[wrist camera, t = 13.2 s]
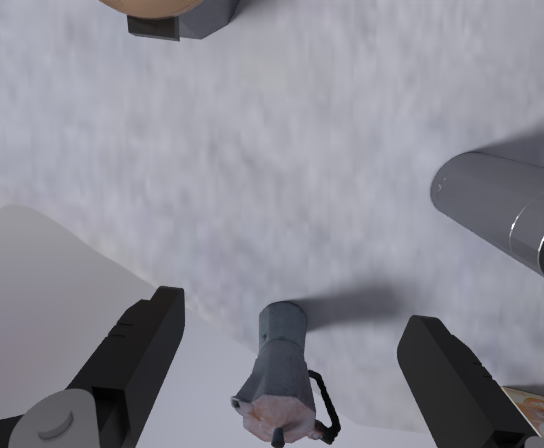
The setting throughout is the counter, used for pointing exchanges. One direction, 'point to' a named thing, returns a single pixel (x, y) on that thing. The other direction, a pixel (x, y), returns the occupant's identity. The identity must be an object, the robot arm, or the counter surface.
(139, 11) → the lid
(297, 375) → the moka pot
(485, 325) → the counter surface
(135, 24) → the cooking pot
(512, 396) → the coffeecake box
